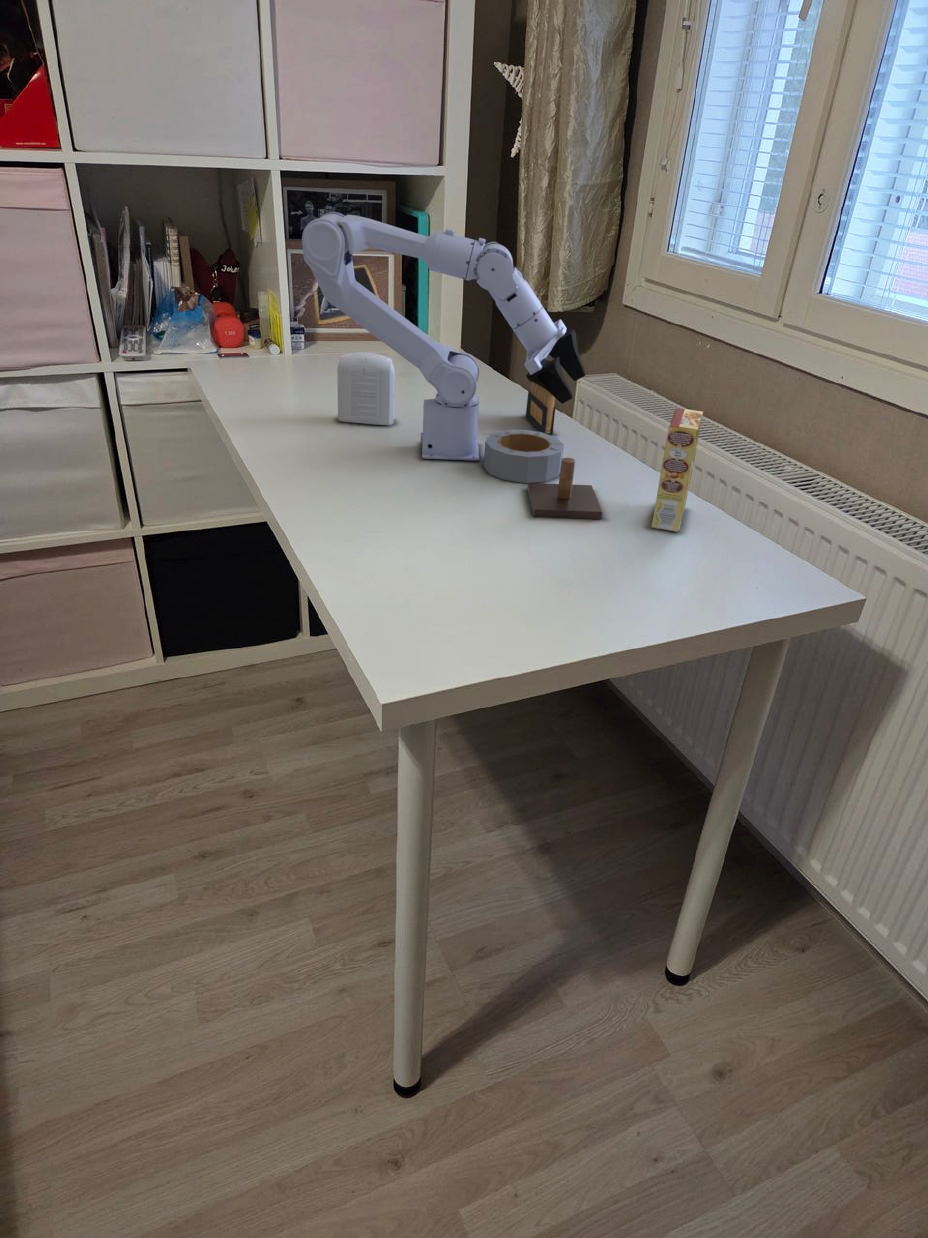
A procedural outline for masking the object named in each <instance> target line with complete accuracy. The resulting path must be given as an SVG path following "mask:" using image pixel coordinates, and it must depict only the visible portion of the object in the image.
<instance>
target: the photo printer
mask: <svg viewBox="0 0 928 1238" xmlns="http://www.w3.org/2000/svg"><path fill="white" fill-rule="evenodd" d="M336 368H337V369H336V371H337V373H336V374H337V420H338V421H339V422H345V423H354V424H355V423H357V424H367V425H368V424H369V425H377V426H392V425H393V424H394V421H395V418H394V417H395V381H396V380H395V378H396V377H395V375H396V372H395V366H394V360H393V359H392V358H390V357H388V356H385V355H383V354H378V353H374V352H365V351H357V352H349V353H346V354H341V355H340V356H339V358H338V363H337V367H336Z"/></svg>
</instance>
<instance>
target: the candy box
mask: <svg viewBox="0 0 928 1238" xmlns="http://www.w3.org/2000/svg"><path fill="white" fill-rule="evenodd" d="M703 415H704V411H700V410H696V409H695V410H694V409H686V408H680V407H676V408H675V409H674V412H673V415H672V418H671V420H670V423H669V426H668V428H667V429H668V430H667V434H666V435H667V436H666V441H665V447H664V452H663V457H662V463H661V469H660V475H659V482H658V488H657V492H656V493H657V494H656V498H655V505H654V511H653V517H652V522H651V528H652V529H658V530H663V531H670V532H675V533H678V532H679V531H680V528H681V526H682V525H681V524H682V521H683V516H684V512H685V509H686V504H687V498H688V494H689V489H690V484H691V479H692V475H693V469H694V465H695V460H696V453H697V450H698V449H697V448H698V443H699V438H700V431H701V425H702V420H703Z"/></svg>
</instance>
